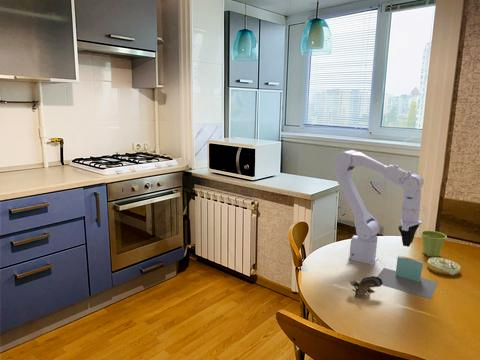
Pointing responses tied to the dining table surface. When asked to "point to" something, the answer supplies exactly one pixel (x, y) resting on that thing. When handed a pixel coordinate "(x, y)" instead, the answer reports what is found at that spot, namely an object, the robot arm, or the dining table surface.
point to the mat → (407, 284)
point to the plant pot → (432, 242)
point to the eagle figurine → (366, 285)
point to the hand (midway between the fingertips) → (407, 244)
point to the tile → (409, 268)
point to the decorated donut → (443, 266)
